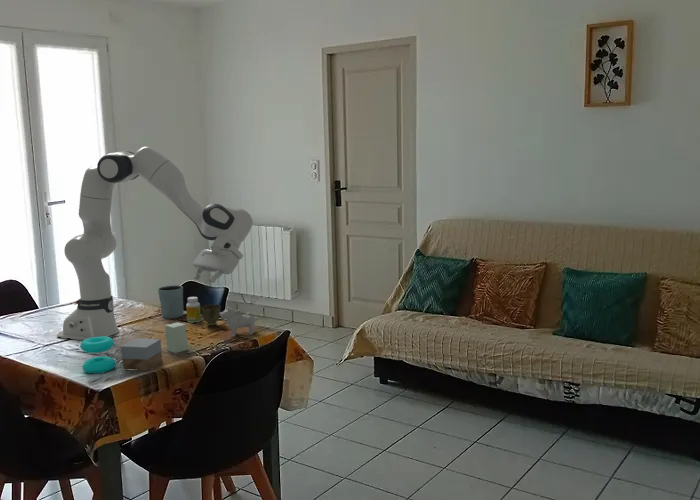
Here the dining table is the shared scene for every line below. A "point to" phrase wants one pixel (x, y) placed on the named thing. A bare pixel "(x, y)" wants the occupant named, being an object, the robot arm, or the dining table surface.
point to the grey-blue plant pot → (171, 301)
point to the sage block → (176, 337)
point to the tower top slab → (141, 348)
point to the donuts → (98, 346)
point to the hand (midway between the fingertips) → (203, 280)
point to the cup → (211, 314)
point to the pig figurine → (238, 320)
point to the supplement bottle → (193, 310)
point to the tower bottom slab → (143, 362)
